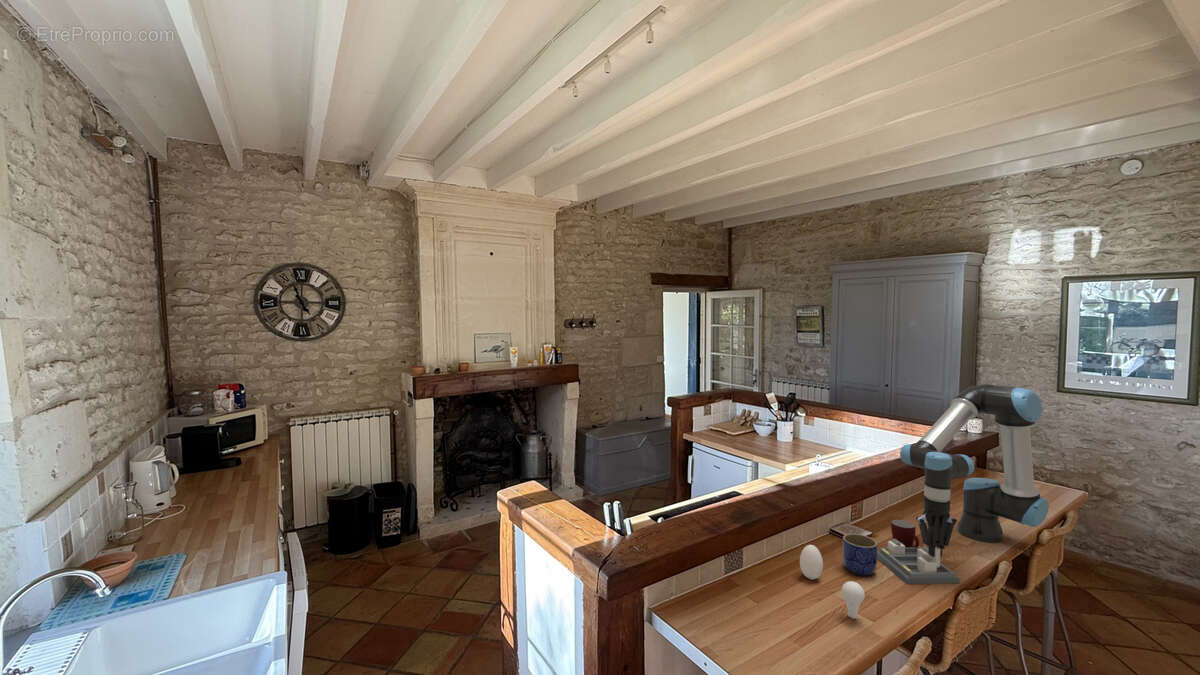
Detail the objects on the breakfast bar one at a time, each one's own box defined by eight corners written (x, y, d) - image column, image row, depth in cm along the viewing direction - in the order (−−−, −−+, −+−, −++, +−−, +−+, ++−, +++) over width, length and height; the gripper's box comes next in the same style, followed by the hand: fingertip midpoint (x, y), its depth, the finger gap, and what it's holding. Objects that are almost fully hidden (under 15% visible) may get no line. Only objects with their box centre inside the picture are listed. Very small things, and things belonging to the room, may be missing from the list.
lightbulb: (837, 612, 149) (837, 577, 149) (856, 611, 150) (856, 576, 149) (848, 625, 143) (849, 588, 143) (868, 624, 144) (869, 587, 143)
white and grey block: (928, 569, 170) (928, 554, 170) (936, 575, 166) (936, 559, 166) (917, 569, 170) (917, 554, 170) (924, 575, 166) (925, 560, 166)
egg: (797, 580, 168) (797, 546, 167) (802, 570, 174) (802, 538, 173) (820, 586, 163) (821, 552, 163) (824, 576, 170) (825, 544, 169)
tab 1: (898, 552, 182) (898, 538, 182) (904, 558, 178) (905, 543, 178) (887, 552, 182) (887, 538, 182) (893, 558, 178) (894, 543, 178)
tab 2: (927, 560, 176) (928, 545, 176) (935, 566, 172) (936, 551, 172) (917, 560, 176) (917, 546, 176) (924, 566, 172) (924, 551, 172)
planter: (873, 565, 177) (874, 535, 176) (879, 581, 167) (880, 549, 166) (840, 560, 181) (840, 531, 180) (844, 575, 170) (845, 544, 170)
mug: (926, 554, 185) (926, 528, 185) (913, 558, 181) (913, 532, 181) (899, 543, 194) (899, 518, 194) (886, 547, 191) (886, 521, 191)
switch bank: (922, 556, 184) (922, 546, 183) (959, 583, 165) (959, 572, 165) (875, 556, 183) (875, 547, 183) (906, 583, 165) (906, 573, 165)
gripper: (947, 494, 171) (945, 559, 172) (911, 494, 171) (909, 559, 172) (964, 502, 163) (961, 570, 164) (925, 502, 163) (923, 571, 164)
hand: (934, 565), depth 168 cm, fingers closed
